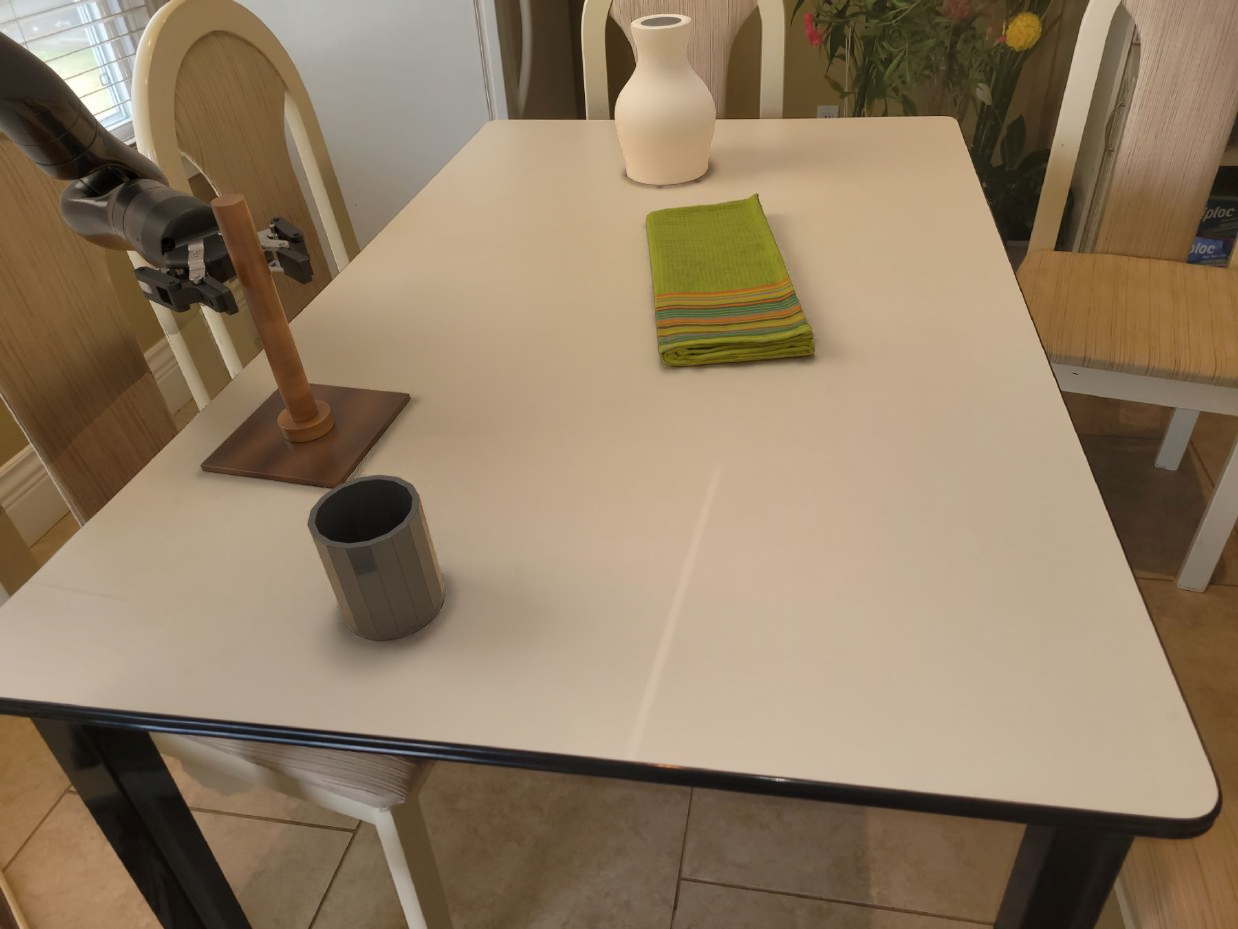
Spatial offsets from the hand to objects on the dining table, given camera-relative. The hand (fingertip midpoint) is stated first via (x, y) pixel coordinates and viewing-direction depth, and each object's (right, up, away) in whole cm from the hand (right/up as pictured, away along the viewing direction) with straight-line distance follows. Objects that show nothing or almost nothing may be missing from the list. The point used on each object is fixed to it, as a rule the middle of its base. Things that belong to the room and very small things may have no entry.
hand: (269, 287), depth 72 cm
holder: (+12, -24, -7) cm, 28 cm away
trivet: (-1, -11, +11) cm, 16 cm away
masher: (-1, -11, +11) cm, 15 cm away
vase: (+35, +29, +58) cm, 74 cm away
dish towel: (+40, +6, +29) cm, 50 cm away
